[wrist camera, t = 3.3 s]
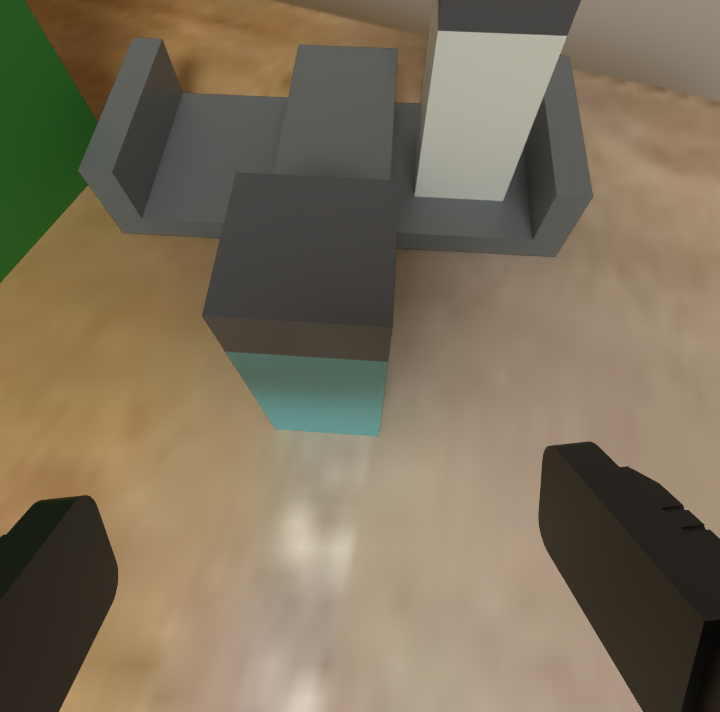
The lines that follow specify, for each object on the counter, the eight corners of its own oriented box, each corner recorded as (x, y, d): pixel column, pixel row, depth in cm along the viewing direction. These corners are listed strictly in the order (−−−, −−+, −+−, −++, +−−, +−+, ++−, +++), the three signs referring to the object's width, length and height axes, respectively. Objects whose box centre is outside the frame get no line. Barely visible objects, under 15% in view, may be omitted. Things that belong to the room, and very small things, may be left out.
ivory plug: (498, 136, 25) (576, -107, 16) (503, 201, 23) (593, -32, 14) (416, 133, 25) (447, -111, 16) (414, 196, 24) (447, -37, 14)
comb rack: (540, 127, 27) (569, 55, 23) (555, 256, 23) (593, 196, 20) (164, 110, 28) (133, 37, 24) (123, 233, 24) (78, 170, 20)
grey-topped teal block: (383, 342, 22) (399, 180, 12) (378, 436, 20) (392, 327, 11) (289, 336, 22) (235, 172, 13) (275, 429, 20) (201, 315, 11)
